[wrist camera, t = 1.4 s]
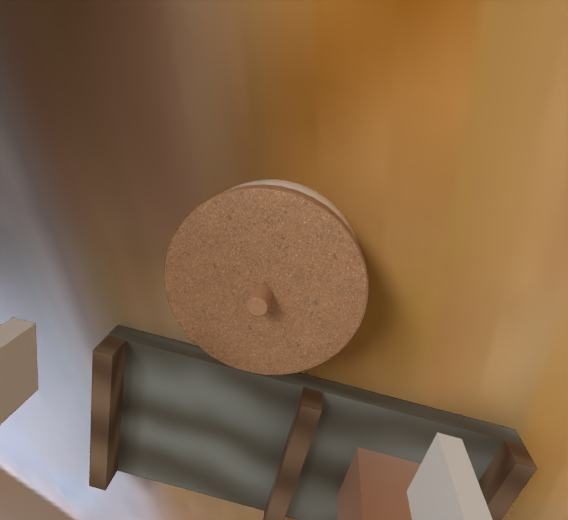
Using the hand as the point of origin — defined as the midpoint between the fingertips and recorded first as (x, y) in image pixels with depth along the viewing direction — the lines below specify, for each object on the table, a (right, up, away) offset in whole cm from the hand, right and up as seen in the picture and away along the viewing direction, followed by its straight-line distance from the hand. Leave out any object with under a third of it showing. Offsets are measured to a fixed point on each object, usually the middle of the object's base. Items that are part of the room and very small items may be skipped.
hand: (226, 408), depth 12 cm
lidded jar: (+2, +6, +15) cm, 16 cm away
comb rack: (+3, -11, +21) cm, 24 cm away
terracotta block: (+10, -14, +20) cm, 26 cm away
